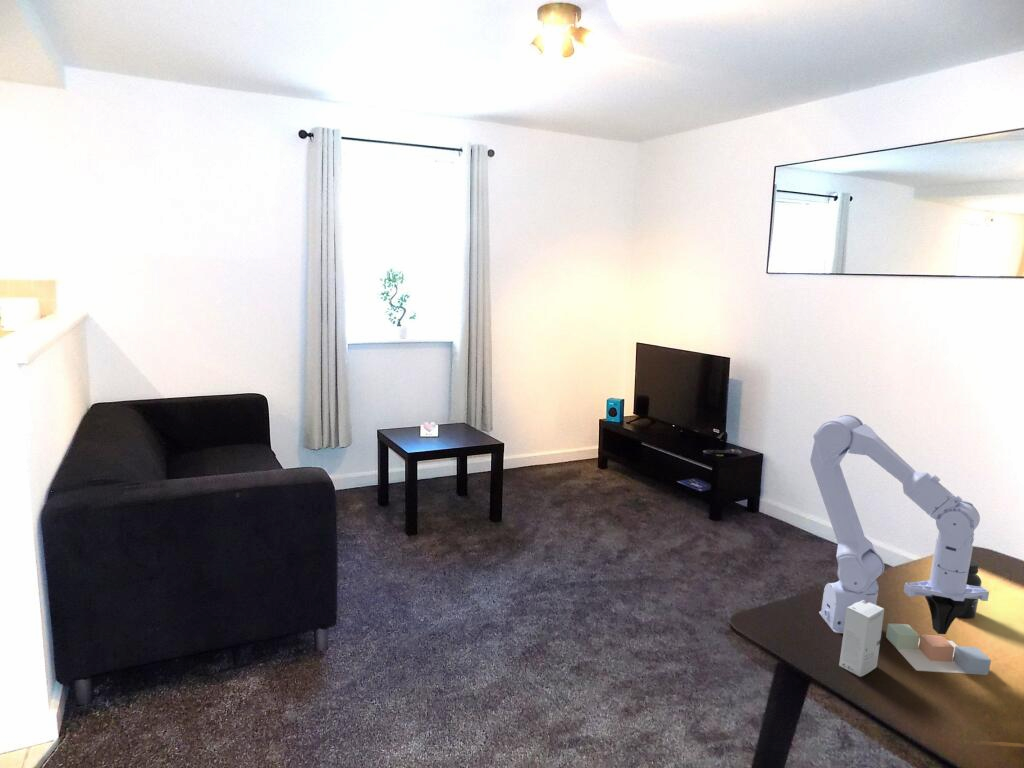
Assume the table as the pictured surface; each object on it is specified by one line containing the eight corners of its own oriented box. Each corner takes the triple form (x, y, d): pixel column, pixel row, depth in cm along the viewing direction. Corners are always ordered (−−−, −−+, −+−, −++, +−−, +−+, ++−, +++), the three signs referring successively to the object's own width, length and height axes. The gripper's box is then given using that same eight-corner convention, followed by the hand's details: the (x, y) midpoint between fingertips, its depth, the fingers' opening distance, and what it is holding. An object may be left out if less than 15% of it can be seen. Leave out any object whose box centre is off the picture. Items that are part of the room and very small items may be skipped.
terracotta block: (930, 660, 125) (932, 646, 125) (918, 648, 129) (920, 634, 129) (951, 661, 125) (954, 647, 124) (939, 649, 129) (941, 635, 128)
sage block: (896, 648, 129) (898, 634, 128) (886, 636, 133) (888, 623, 132) (917, 649, 129) (919, 635, 128) (906, 637, 133) (908, 624, 132)
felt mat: (916, 672, 122) (916, 670, 122) (885, 638, 133) (886, 636, 133) (987, 676, 122) (988, 674, 121) (951, 642, 132) (951, 640, 132)
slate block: (966, 673, 122) (968, 658, 121) (952, 660, 126) (955, 646, 125) (988, 674, 121) (991, 659, 121) (974, 661, 125) (976, 647, 125)
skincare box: (860, 679, 119) (870, 618, 117) (837, 666, 123) (845, 607, 121) (877, 668, 123) (887, 608, 121) (854, 656, 126) (862, 598, 124)
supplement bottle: (981, 622, 140) (991, 570, 138) (945, 618, 142) (955, 566, 139) (966, 606, 147) (975, 556, 145) (932, 602, 148) (941, 552, 146)
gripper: (923, 573, 120) (912, 640, 122) (1004, 577, 119) (991, 645, 122) (902, 556, 127) (892, 620, 129) (979, 560, 126) (967, 624, 129)
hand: (939, 631), depth 126 cm, fingers closed
